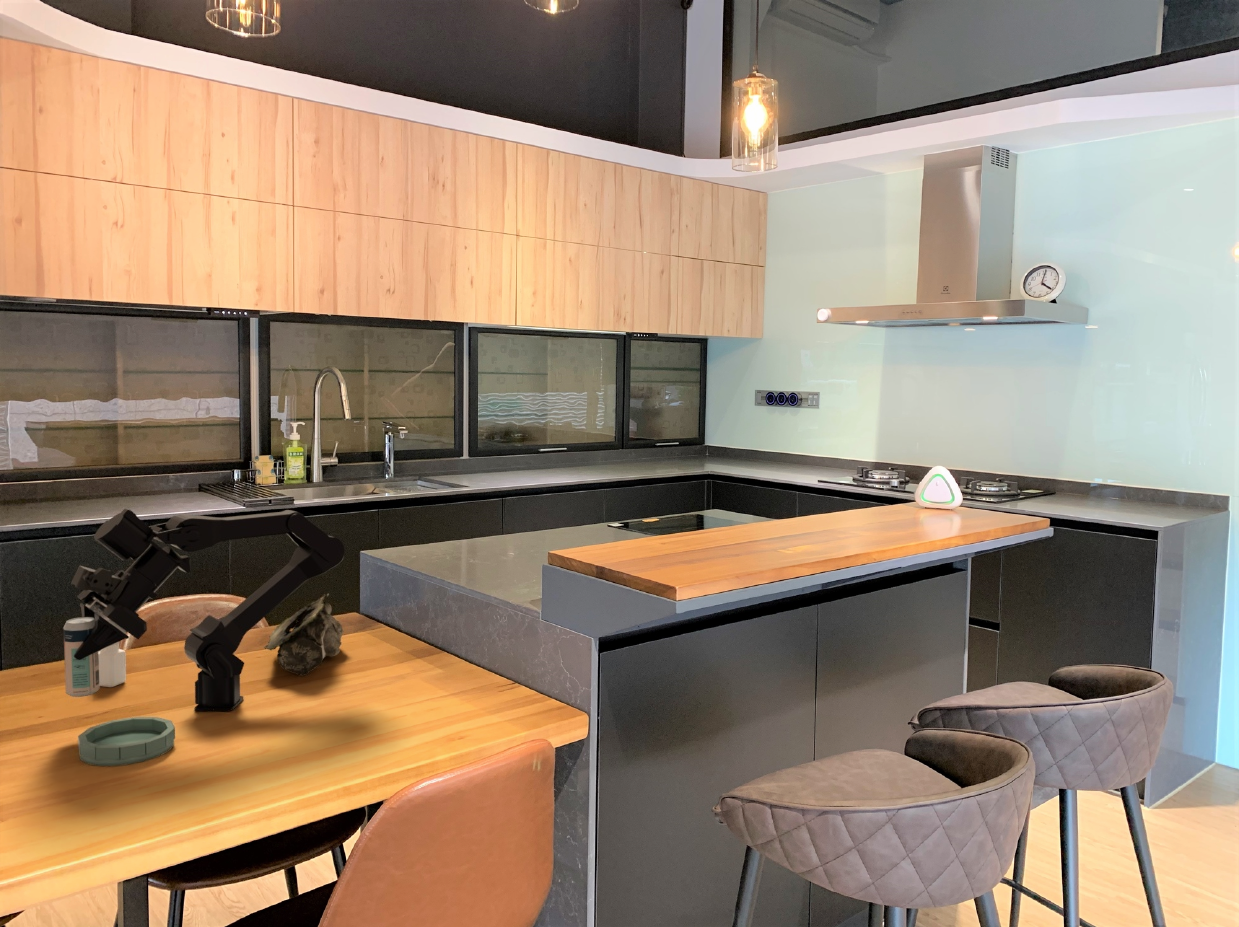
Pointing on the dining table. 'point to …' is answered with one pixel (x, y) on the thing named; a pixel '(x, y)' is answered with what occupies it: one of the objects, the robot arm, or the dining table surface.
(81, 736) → the bowl
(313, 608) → the driftwood piece
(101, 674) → the pepper shaker
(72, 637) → the beer can
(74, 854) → the dining table surface
